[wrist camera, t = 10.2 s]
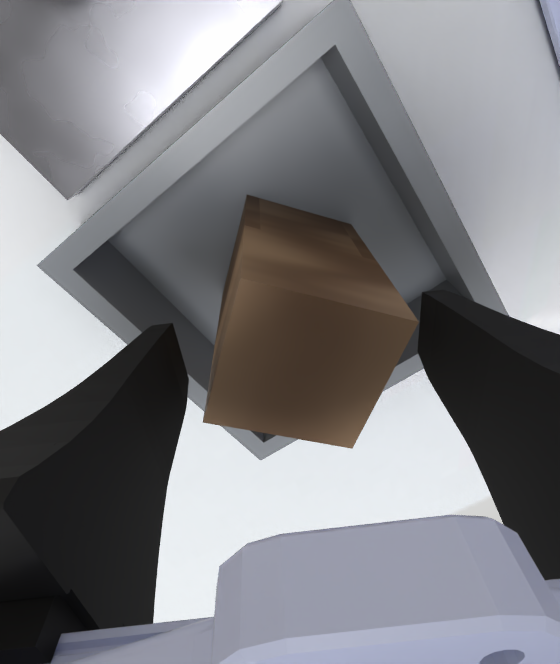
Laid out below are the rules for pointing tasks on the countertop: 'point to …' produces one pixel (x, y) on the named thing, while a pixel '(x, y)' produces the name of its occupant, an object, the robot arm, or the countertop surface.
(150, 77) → the stud plate
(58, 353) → the countertop surface
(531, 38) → the countertop surface
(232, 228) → the charcoal bin
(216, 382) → the walnut strut
